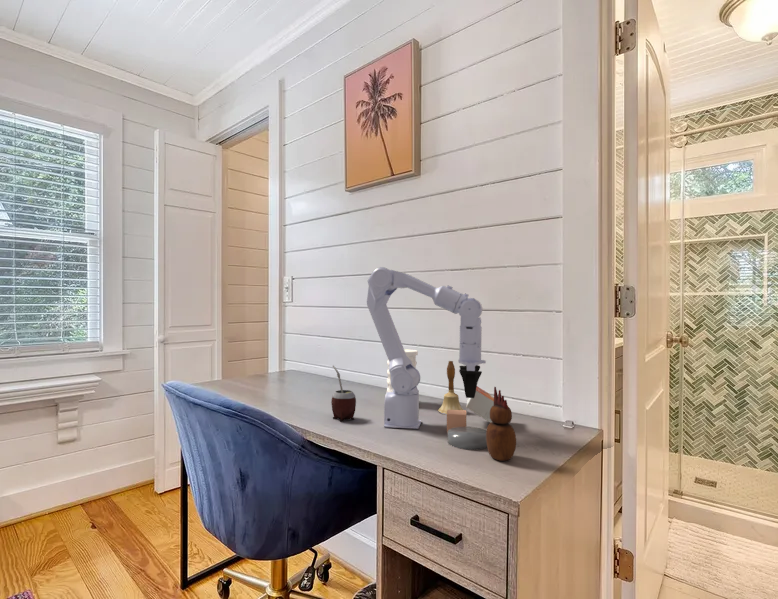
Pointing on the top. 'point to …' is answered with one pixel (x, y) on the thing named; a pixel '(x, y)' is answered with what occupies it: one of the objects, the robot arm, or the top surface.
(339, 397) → the mate gourd
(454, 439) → the pedestal
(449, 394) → the hand bell
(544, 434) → the top surface
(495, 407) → the wooden figurine
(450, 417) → the block
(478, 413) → the small box
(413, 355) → the decorative container
